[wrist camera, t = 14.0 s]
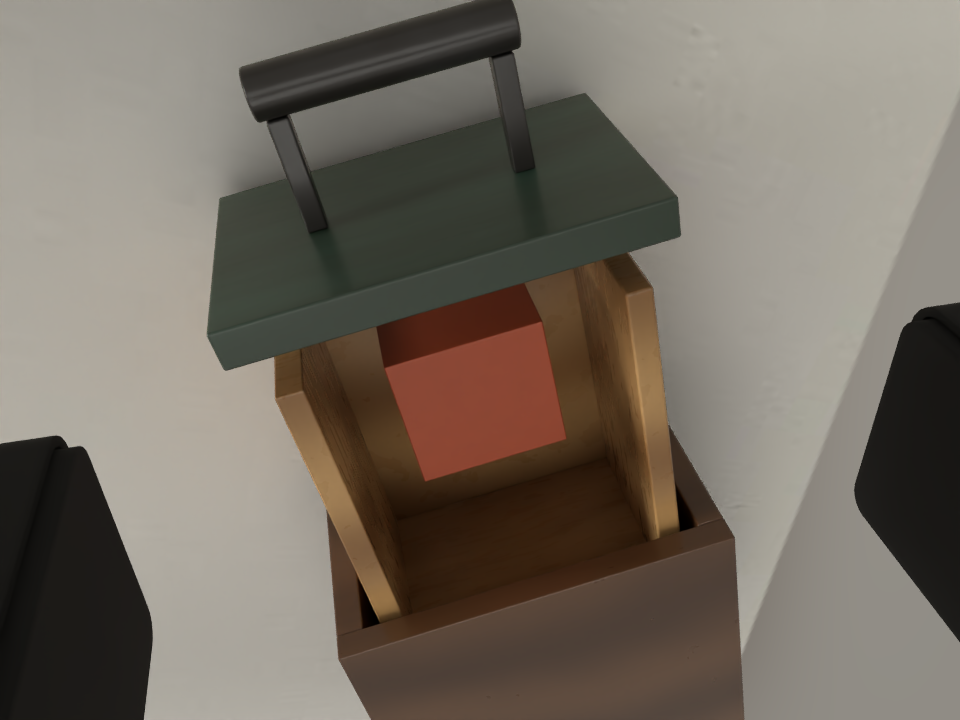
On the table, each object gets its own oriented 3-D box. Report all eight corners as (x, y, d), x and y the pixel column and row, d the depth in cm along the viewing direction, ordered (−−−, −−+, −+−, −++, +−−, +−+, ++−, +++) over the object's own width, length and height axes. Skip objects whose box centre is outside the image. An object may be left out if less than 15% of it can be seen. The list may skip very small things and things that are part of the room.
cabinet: (321, 456, 36) (337, 659, 28) (633, 363, 36) (735, 537, 28) (423, 683, 46) (456, 879, 38) (666, 608, 46) (748, 786, 39)
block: (367, 284, 29) (383, 368, 25) (506, 244, 29) (542, 321, 26) (405, 392, 32) (424, 482, 28) (531, 355, 32) (567, 439, 28)
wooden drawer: (154, 50, 25) (116, 159, 19) (563, -66, 25) (663, 3, 19) (361, 524, 37) (382, 686, 31) (635, 441, 37) (711, 584, 31)
